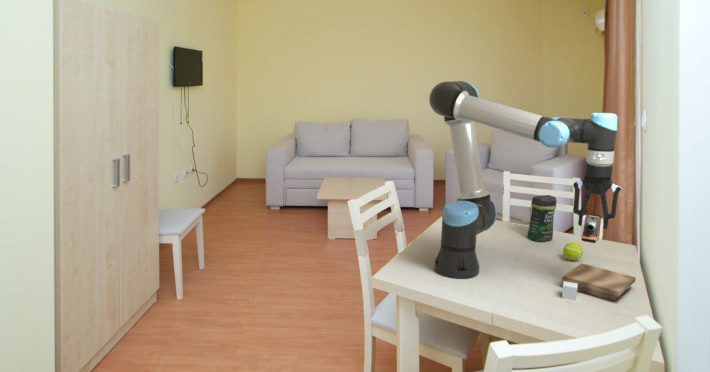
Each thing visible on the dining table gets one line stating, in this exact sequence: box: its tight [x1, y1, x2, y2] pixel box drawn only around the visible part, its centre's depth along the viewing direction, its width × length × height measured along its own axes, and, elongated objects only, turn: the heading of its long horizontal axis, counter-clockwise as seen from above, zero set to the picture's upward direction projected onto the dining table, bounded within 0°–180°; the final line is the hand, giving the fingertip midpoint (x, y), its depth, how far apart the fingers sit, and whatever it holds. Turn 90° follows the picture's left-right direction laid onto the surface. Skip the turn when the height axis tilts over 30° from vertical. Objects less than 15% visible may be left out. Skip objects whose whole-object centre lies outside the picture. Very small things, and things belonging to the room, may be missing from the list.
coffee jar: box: [527, 194, 557, 243], centre depth 213 cm, size 10×8×19 cm
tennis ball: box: [562, 242, 584, 262], centre depth 191 cm, size 7×7×7 cm
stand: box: [561, 263, 637, 302], centre depth 167 cm, size 17×16×4 cm
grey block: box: [561, 281, 578, 301], centre depth 160 cm, size 4×4×4 cm
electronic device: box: [580, 214, 602, 244], centre depth 163 cm, size 4×10×8 cm, turn 148°
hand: (591, 237), depth 164 cm, fingers closed on electronic device, 4 cm apart
